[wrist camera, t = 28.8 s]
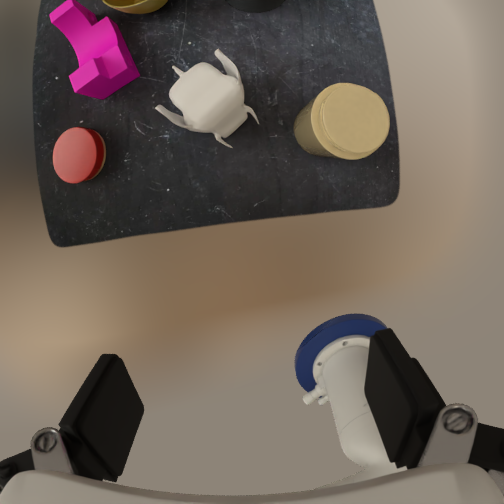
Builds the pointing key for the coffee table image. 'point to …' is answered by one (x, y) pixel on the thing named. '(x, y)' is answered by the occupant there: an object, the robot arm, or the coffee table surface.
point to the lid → (78, 155)
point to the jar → (342, 122)
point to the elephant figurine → (209, 99)
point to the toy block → (95, 51)
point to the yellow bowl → (136, 5)
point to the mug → (255, 5)
